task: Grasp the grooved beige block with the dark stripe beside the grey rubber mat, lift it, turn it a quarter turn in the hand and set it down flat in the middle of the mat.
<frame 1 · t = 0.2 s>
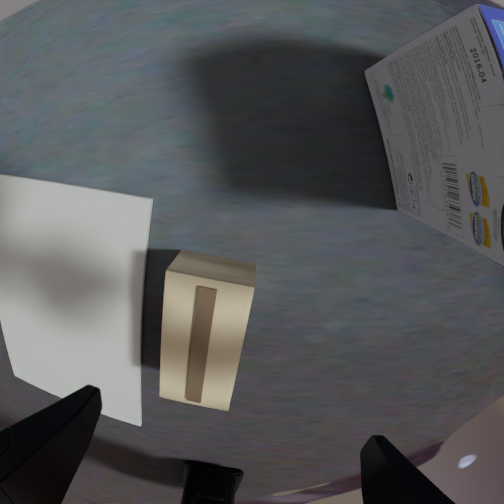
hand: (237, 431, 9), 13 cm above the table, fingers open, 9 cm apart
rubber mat: (58, 312, 23), on the table
ink cartridge box: (416, 136, 18), on the table
grooved beige block: (209, 319, 23), on the table
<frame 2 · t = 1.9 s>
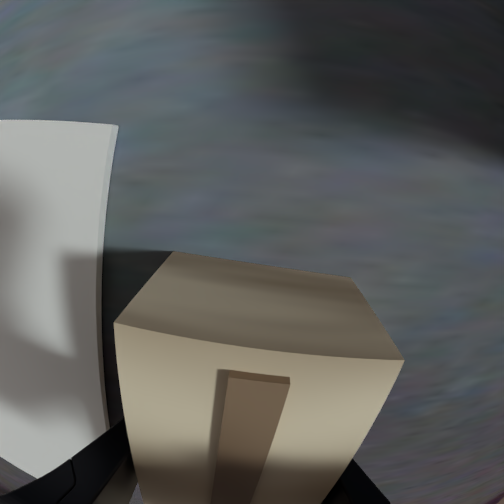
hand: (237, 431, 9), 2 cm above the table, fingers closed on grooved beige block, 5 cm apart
grooved beige block: (239, 399, 10), on the table, touching gripper
when the fingers open (3 cm above the table, at t = 6.8 s): grooved beige block drops 2 cm, resting on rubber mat.
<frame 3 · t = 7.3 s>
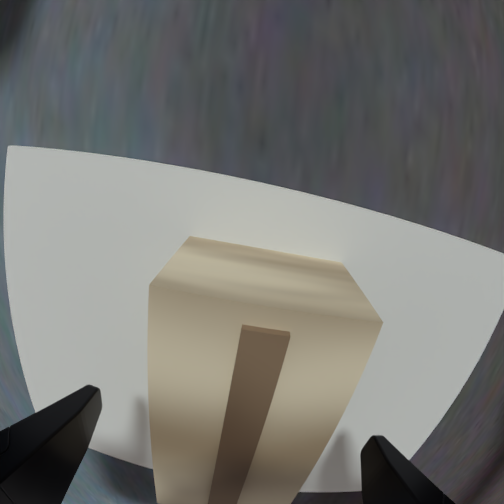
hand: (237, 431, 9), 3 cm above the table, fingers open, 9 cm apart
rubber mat: (237, 384, 12), on the table
grooved beige block: (242, 372, 12), resting on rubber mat
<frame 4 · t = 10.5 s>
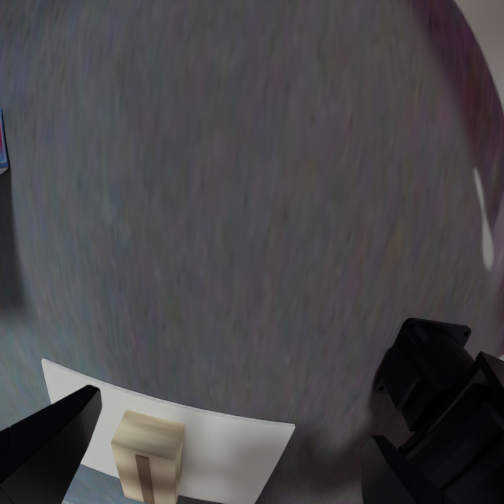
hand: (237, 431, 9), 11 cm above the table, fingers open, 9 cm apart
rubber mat: (157, 452, 25), on the table
grooved beige block: (156, 449, 24), resting on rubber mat
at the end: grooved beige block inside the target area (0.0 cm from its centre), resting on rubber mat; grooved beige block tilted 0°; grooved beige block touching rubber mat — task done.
